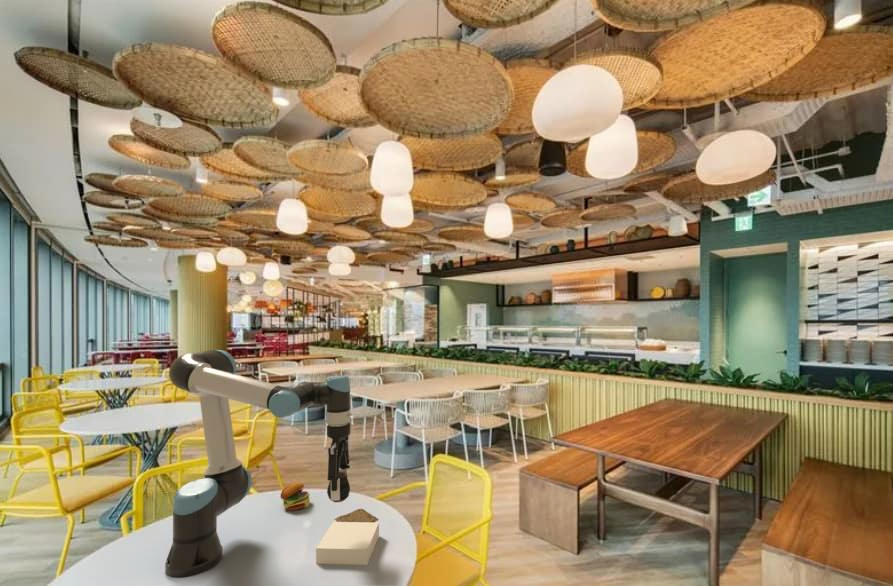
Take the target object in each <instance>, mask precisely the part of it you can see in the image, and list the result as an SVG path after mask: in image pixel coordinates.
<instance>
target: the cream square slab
mask: <svg viewBox="0 0 893 586" xmlns="http://www.w3.org/2000/svg"><path fill="white" fill-rule="evenodd" d="M379 538H380V522H376V521H375V522H337V521H332V523H331V524H330V526H329V528H328V529H327V531H326V533H325V534H324V535H323V537H322V538H321V540H320V542H318V545H317V547H316V548H315V564H318V565H319V564H320V565H321V564H322V565H323V564H324V565H358V566H359V565H361V566H367V565H368V564H369V562H370V560H371V556H372V555H373V552H374V550H375V547H376V544H377V543H378V542H377V541H378V539H379Z"/></svg>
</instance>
